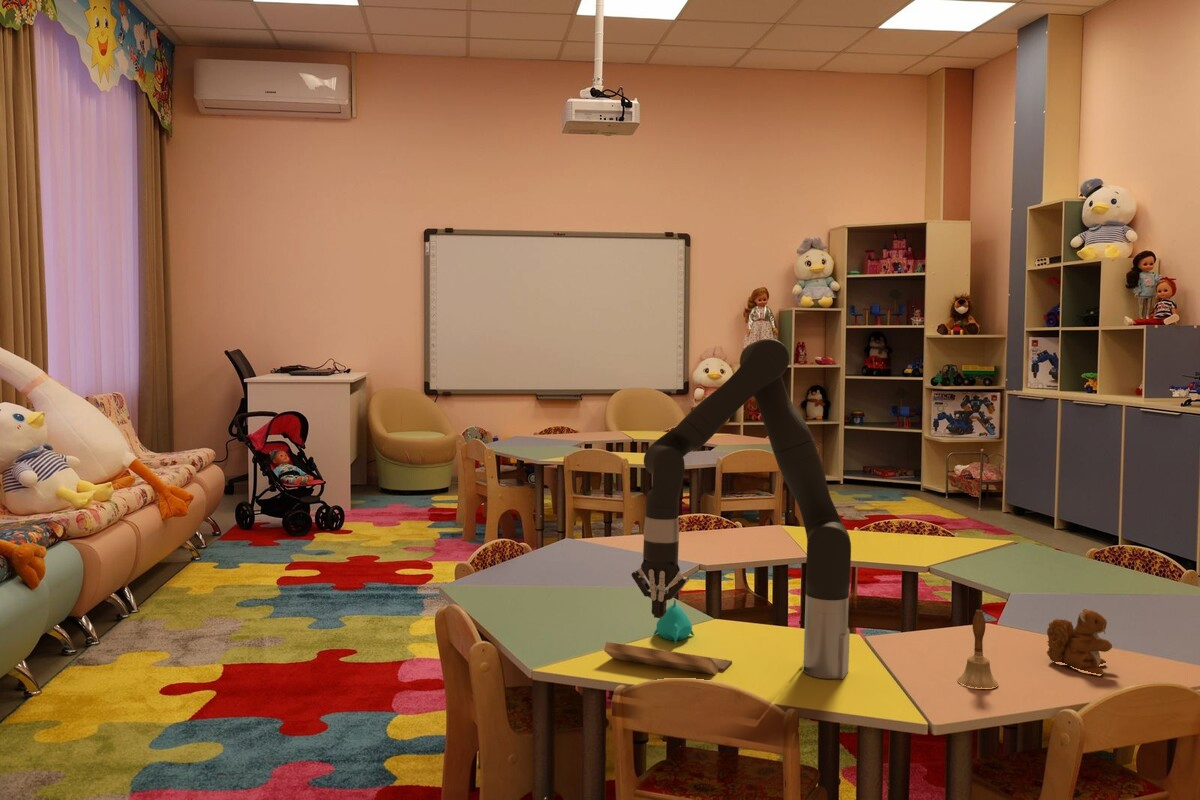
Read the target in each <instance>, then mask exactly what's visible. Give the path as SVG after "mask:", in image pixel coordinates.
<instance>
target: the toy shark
mask: <svg viewBox="0 0 1200 800" xmlns="http://www.w3.org/2000/svg"><path fill="white" fill-rule="evenodd" d="M676 602H677V600H676V598H674V600H673V604H671V605H669V607H666V614H665V615H664V616H663V617H662V618H658V621H656V622H657V623H656V628H655V630H654V633H653V636H654V635H656V634H659V635H660V637H662V638H663V639H664V640H668V641H669V640H670V641H674V643H675V644H677V641H682V640H685V639H686V638H688V637H689V636H690V635H692V636H693V637H695V634H694V631H693V625H692V623H691V621H690V618H689V617H688V615H687V614H686V612H685V611H684V610H683V609H682V607H680V605H678V604H677V603H676Z"/></svg>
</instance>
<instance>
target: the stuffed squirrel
mask: <svg viewBox="0 0 1200 800" xmlns="http://www.w3.org/2000/svg"><path fill="white" fill-rule="evenodd" d="M1107 624H1108V622H1107V619H1106V617H1104V616H1103V615H1101V614H1100V613H1098V611H1095V610H1092V609H1087V608H1084V609H1082V612H1080V613H1079V614H1078V618H1077V622H1076V625H1075V627H1074V626H1073V624H1072V621H1070V620H1066V619H1058V618H1055V619H1053V620H1052V621H1050V623H1048V628H1047V630H1046V632H1047V633H1046V635H1047V639H1048V640H1047V643H1048V644H1047V645H1048V650H1047V651H1046V655H1047V656H1048V657H1049V660H1051V661H1052V662H1053V661H1054V662H1062V663H1065V664H1067V665H1069V666H1072V667H1074V668H1077V669H1080V670H1084V671H1088V672H1091V673H1096V674H1103V675H1104V674H1105V671H1104V670H1103V668H1102V667H1099V665H1100V664H1103V663H1106V662H1107V660H1105V659H1103V658H1101V655H1100V652H1102V653H1106V652H1109V651H1110V650H1112V648H1113V645H1112V643H1111V642H1110V641H1109V640H1107V639H1104V638H1102V637H1100V636H1099V634H1101V633H1103V634H1104V635H1106V630H1107V626H1108V625H1107ZM1054 662H1053V663H1054ZM1069 666H1068V667H1069Z"/></svg>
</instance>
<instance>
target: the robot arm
mask: <svg viewBox="0 0 1200 800" xmlns="http://www.w3.org/2000/svg"><path fill="white" fill-rule="evenodd" d="M789 364H790V353H789V350H788V348H787V347H786V345H785V344H784V343H783V342H781V341H780V340H777V339H775V338H762V339H759V340H756V341H754V342H752V343H750V344H748V345H746V346H745V347H744V349H743V350H742V352H741V354H740V357H739V367H738V368H737V369H736V371H735V372H734V373H733V374H732V375H731V376H730V377H729V378H728V379H727V380H726V381H725V382H723V384H722V385H721V386H719V387H718V388H717V389H715V390H714V391H713V392H711V393H710V394H709V395H708V396H707V397H705V398H704V399H703V400H702V401H701V402H699V403H698V404H697V405H696V406H695V407H694V408H693V409H692V410H691V411H690V412H689V413H688V414H687V415H685V417H684V418H682V420H680V422H679V423H678V424H677V425H676V426H675V427H674V428H672V429H670V430H669V431H667V432H666V433H665V434H663V435H661V436H660V437H659V438H658V439H657V440H656V441H654V442H653V443H652V444H651V445H650V446H649V447H648V448H647V449H646V451H645V453H644V456H643V465H644V468H645V470H646V471H647V472H648V473H649V474H651V475H652V484H651V489H650V490H649V491H648V492H647V494H646V499H645V519H644V525H643V545H642V546H643V547H642V548H643V549H642V553H643V555H642V559H643V560H642V563H641V565H640V567H639V569H637V570H635V571H633V572H632V573H631V577H632V579H633V580H634V582H635V583H636V585H637V587H638V588H639V590H640V592H641V593H642V595H643V596H644V597H648V598H649V599H650V600H651V614H652V615H653V618H655V619H660V618H662V617H663V616H664V615H665V614H666V610H667V603H668V601H670V600H673V598H674V599H675V597H676V596H677V595H678V594H679V593H680V591H682V589H683V588H684V587H685V586H686V585H687V583H688V582H689V581H690V578H689V577H688V576H684V574H683V573H681V568H680V566H679V547H680V545H679V543H680V523H679V514H680V513H679V510H680V509H679V508H680V507H679V506H680V501H679V500H680V495H681V491H682V487H683V482H684V479H685V468H686V465H685V459H684V457H685V456H686V455H688V454H689V453H690V452H694V451H698V450H699V449H700V448H702V447H704V445H706V443H707V442H709V440H710V439H712V437H713V436H714V435H715V434H717V432H718V431H719V430H720V429H721V428H722V427H723V426H724V425H725V424H726V423H727V422H728V421H729V420H730V418H732V417H733V415H735V413H737V412H738V411H739V409H741V408H742V406H744V405H745V403H747V402H748V401H749V400H750V399H751V398H754V400H755V402H756V405H757V407H758V409H759V413H760V416H761V419H762V422H763V425H764V428H765V431H766V434H767V436H768V440H769V443H770V446H771V449H772V453H773V455H774V458H775V462H776V463H777V466H778V469H779V470H780V473H781V475H782V478H783V480H784V481H785V484H786V485H787V487H788V489H789V491H790V492H791V494H792V497H794V499H795V502H796V504H797V506H798V509H799V511H800V514H801V519H802V522H803V525H804V530H805V535H806V570H805V571H806V572H805V573H806V576H805V601H804V602H805V603H804V604H805V605H804V606H805V607H804V608H805V609H804V611H805V612H804V632H803V633H804V635H803V637H804V638H803V660H802V661H803V663H802V664H803V669H802V670H803V672H804V673H805V674H806V675H808V676H811V677H813V678H818V679H819V678H820V679H830V680H831V679H832V680H834V679H841V680H843V679H844V678H846V676H847V674H848V672H849V668H850V667H849V663H850V636H851V635H850V628H849V601H850V600H849V599H850V597H849V596H850V585H851V584H850V583H851V561H852V543H851V537H850V534H849V532H848V530H847V528H846V527H845V525H844V523H843V520H842V519H841V517H840V514H839V512H838V510H837V508H836V507H835V504H834V502H833V500H832V497H831V494H830V492H829V489H828V488H829V487H828V483H827V478H826V472H825V470H824V467H823V466H824V465H823V461H822V459H821V455H820V451H819V450H818V446H817V443H816V441H815V438H814V436H813V434H812V431H811V429H810V428H809V426H808V424H807V422H806V421H805V419H804V418H803V416H802V415H801V414H800V412H799V411H798V409H797V408H796V406H795V405H794V403H793V401H791V399H790V396H789V394H788V392H787V388H786V386H785V382H784V379H783V375H784V374H785V372H786V371H787V370H788V367H789ZM646 579H647V580H646ZM674 580H675V585H674V586H673V588H672V589H671V590H669V589H670V584H671V583H672V582H674Z"/></svg>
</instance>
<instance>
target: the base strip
mask: <svg viewBox="0 0 1200 800" xmlns="http://www.w3.org/2000/svg"><path fill="white" fill-rule="evenodd" d="M622 644H623V643H622ZM623 645H626V644H623ZM628 645H629V646H633V645H632V644H628ZM635 646H636V647H639V646H638V645H635ZM641 647H642V648H646V647H644V646H641ZM648 648H649V649H652V648H650V647H648ZM654 649H655V650H659V649H657V648H654ZM661 650H662V651H665V650H664V649H661ZM667 651H668V652H672V651H669V650H667ZM674 652H675V653H679V652H676V651H674ZM680 653H681V654H685V653H683V652H680ZM687 654H688V655H692V654H690V653H687ZM694 655H695V656H698V655H696V654H694ZM700 656H701V657H705V656H703V655H700ZM707 657H708V656H707ZM708 658H711V659H712V660H713V661H714V662H715V663H716V664H717V666H718V667H719V669H718V673H725V672H726V670H728V669H729V668H730V667H731V666H732V664H733V660H729V659H723V658H716V657H710V656H709V657H708Z"/></svg>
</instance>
